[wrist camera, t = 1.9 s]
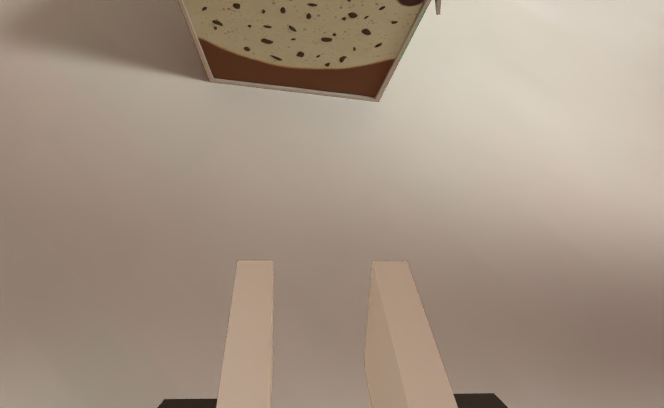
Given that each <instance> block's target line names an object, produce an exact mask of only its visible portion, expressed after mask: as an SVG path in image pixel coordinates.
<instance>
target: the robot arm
mask: <svg viewBox="0 0 664 408" xmlns="http://www.w3.org/2000/svg"><path fill="white" fill-rule="evenodd" d="M364 364H365V370H366V376H367V382H368V387H369V393H370V399H371V405H372V408H508V407H507V406H506V405H505V404H504V403H503V402H502V401H501V400H500V399H499V398H498V397H497V396H496V395H495V394H494V393H487V394H453V392H452V389H451V386H450V383H449V380H448V377H447V374H446V372H445V369H444V366H443V363H442V360H441V357H440V354H439V352H438V349H437V346H436V343H435V340H434V337H433V334H432V331H431V329H430V326H429V323H428V320H427V317H426V314H425V311H424V308H423V306H422V303H421V300H420V297H419V294H418V291H417V288H416V286H415V283H414V280H413V277H412V274H411V271H410V268H409V265H408V263H407V261H372V271H371V283H370V296H369V308H368V320H367V332H366V344H365V356H364ZM272 375H273V260H238V261H237V267H236V274H235V281H234V288H233V295H232V302H231V309H230V316H229V323H228V330H227V336H226V343H225V350H224V357H223V364H222V371H221V378H220V385H219V392H218V399H164V401H163V402H162V403H161V404H160V405H159V407H158V408H271V406H272Z"/></svg>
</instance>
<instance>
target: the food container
mask: <svg viewBox="0 0 664 408" xmlns="http://www.w3.org/2000/svg"><path fill="white" fill-rule="evenodd" d="M430 2H431V0H178V3H179V5H180V8H181V10H182V13H183V15H184V18H185V20H186V23H187V25H188V28H189V30H190V33H191V36H192V38H193V41H194V43H195V46H196V48H197V51H198V53H199V56H200V58H201V61H202V63H203V66H204V68H205V71H206V74H207V76H208V79H209V81H210V82H214V83H222V84H231V85H239V86H248V87H256V88H265V89H273V90H282V91H290V92H299V93H307V94H316V95H324V96H333V97H341V98H350V99H358V100H367V101H375V102H379V100H380V98H381V96H382V94H383V92H384V90H385V88H386V87H387V85H388V83H389V81H390V79H391V77H392V75H393V73H394V71H395V69H396V67H397V65H398V63H399V61H400V59H401V58H402V56H403V54H404V52H405V50H406V48H407V46H408V44H409V42H410V40H411V38H412V36H413V34H414V32H415V31H416V29H417V27H418V25H419V23H420V21H421V19H422V17H423V15H424V13H425V11H426V9H427V7H428V5H429V3H430ZM435 4H436V15H438V14H440V7H441V0H435Z"/></svg>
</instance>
